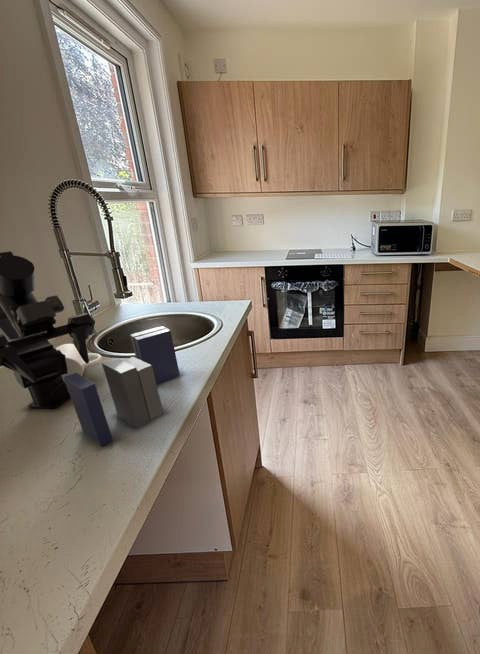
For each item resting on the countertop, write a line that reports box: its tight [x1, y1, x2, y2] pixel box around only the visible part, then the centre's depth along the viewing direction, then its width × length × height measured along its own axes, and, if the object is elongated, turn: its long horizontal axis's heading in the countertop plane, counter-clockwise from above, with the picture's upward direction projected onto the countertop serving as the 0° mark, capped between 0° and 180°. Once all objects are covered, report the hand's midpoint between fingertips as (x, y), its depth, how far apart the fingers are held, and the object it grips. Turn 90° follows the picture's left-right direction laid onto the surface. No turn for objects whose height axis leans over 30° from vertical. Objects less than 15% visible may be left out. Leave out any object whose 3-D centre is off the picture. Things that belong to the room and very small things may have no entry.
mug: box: [55, 343, 103, 387], centre depth 92 cm, size 12×10×8 cm
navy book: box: [64, 373, 114, 448], centre depth 67 cm, size 8×2×13 cm, turn 55°
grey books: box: [101, 356, 164, 429], centre depth 74 cm, size 8×6×13 cm
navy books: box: [129, 325, 181, 385], centre depth 89 cm, size 8×5×13 cm, turn 135°
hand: (62, 371), depth 69 cm, fingers open, 9 cm apart
